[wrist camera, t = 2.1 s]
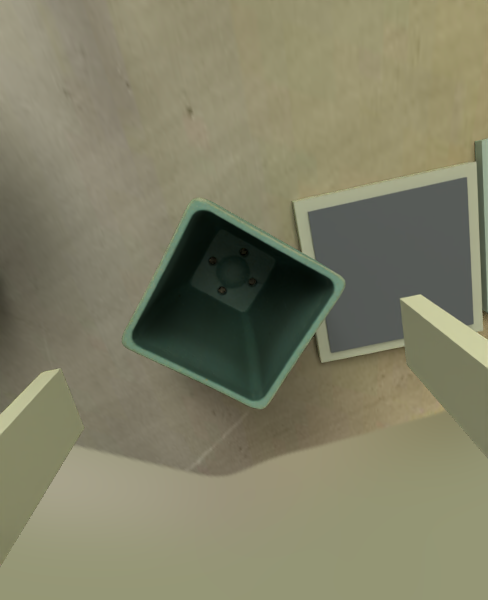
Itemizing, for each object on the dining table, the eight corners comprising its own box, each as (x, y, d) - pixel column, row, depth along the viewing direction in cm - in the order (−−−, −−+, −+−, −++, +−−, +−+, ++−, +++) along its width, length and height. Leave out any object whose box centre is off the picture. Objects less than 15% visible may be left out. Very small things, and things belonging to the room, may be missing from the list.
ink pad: (319, 357, 31) (322, 364, 30) (291, 201, 28) (294, 202, 27) (475, 325, 31) (485, 332, 30) (468, 161, 27) (479, 161, 26)
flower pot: (255, 347, 31) (263, 415, 23) (151, 294, 30) (116, 345, 21) (317, 248, 29) (351, 281, 20) (207, 185, 28) (193, 193, 19)
